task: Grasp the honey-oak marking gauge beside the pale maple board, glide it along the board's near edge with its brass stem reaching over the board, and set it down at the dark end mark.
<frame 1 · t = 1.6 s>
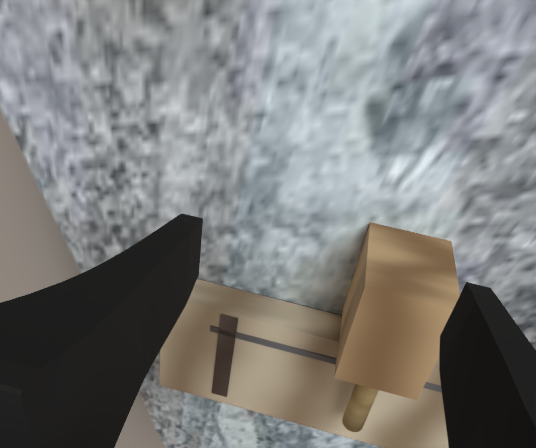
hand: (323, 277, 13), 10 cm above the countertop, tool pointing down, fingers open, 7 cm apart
maple board: (326, 361, 30), on the countertop
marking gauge: (393, 276, 26), on the countertop
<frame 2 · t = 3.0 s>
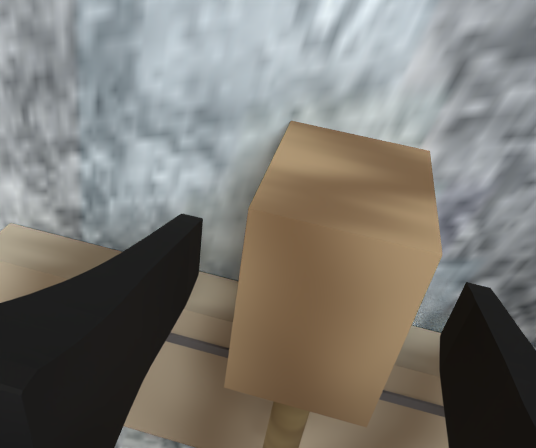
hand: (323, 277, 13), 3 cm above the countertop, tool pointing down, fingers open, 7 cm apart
maple board: (249, 358, 20), on the countertop
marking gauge: (336, 220, 16), on the countertop
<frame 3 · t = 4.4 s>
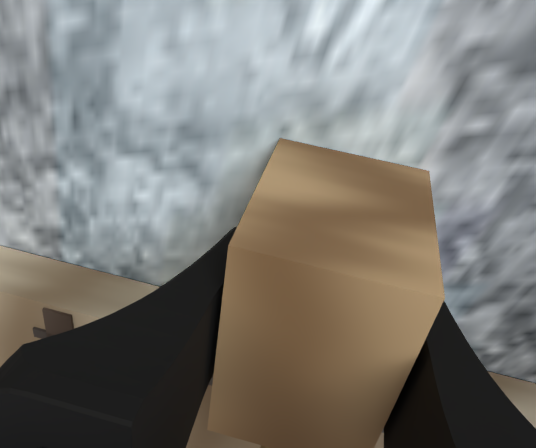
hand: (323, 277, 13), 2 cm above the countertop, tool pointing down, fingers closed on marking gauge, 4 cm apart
maple board: (239, 383, 19), on the countertop
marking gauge: (329, 243, 15), on the countertop, touching gripper
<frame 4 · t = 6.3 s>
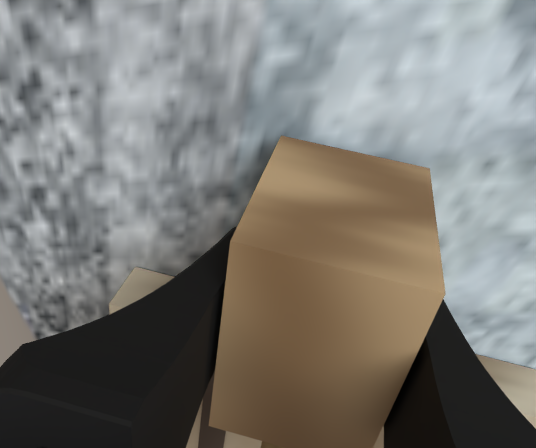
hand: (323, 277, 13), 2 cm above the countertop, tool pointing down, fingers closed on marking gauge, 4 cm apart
maple board: (378, 406, 19), on the countertop
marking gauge: (330, 241, 15), point 1 cm above the countertop, touching gripper
when the fingers open (2 cm above the countertop, at t = 8.5 s): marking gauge stays where it is, on the countertop.
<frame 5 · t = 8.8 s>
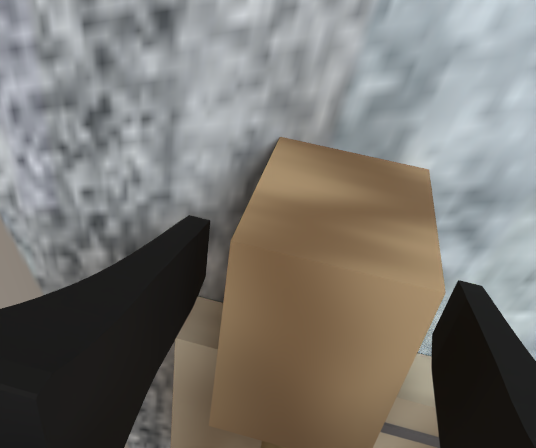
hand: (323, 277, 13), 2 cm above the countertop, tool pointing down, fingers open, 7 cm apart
maple board: (445, 439, 18), on the countertop
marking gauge: (330, 240, 15), on the countertop
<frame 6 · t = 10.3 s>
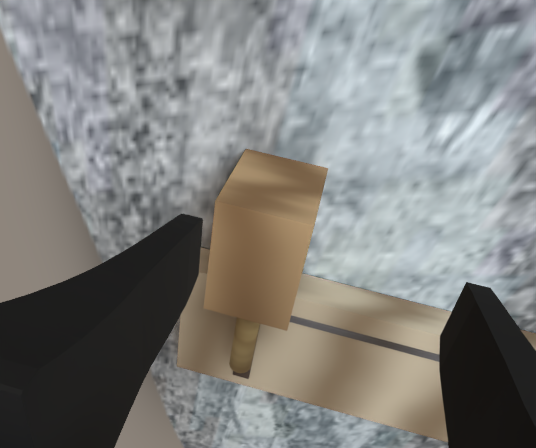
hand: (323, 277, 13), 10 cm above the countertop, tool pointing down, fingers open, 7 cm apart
maple board: (354, 341, 29), on the countertop
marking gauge: (276, 209, 25), on the countertop
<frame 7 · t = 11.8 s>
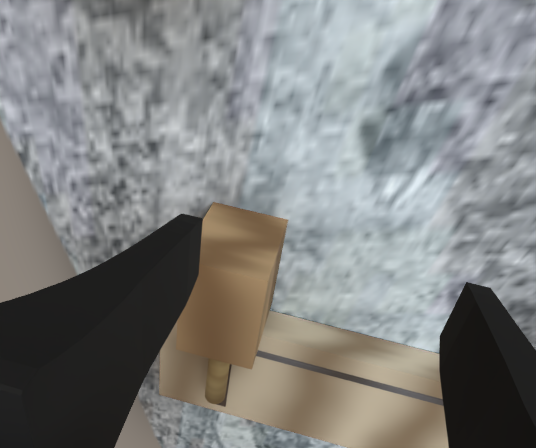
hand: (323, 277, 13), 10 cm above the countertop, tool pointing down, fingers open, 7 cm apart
maple board: (323, 371, 31), on the countertop
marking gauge: (244, 254, 27), on the countertop
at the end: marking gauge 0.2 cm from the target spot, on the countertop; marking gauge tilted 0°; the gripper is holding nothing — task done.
